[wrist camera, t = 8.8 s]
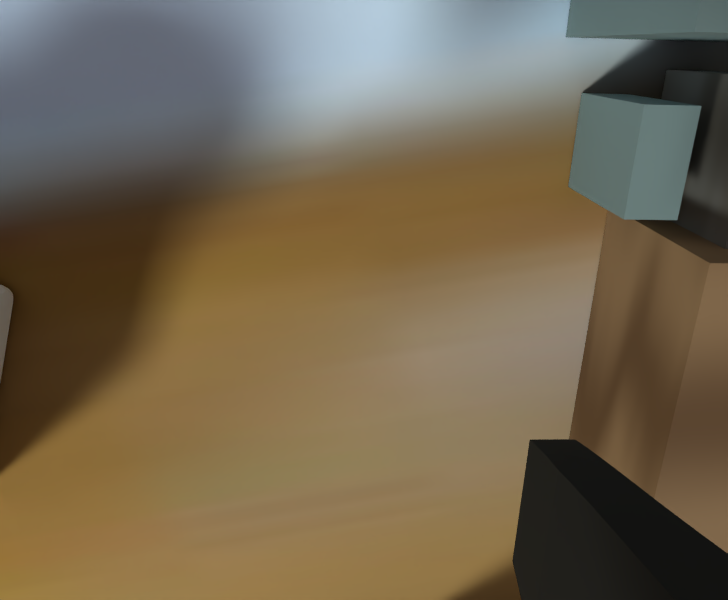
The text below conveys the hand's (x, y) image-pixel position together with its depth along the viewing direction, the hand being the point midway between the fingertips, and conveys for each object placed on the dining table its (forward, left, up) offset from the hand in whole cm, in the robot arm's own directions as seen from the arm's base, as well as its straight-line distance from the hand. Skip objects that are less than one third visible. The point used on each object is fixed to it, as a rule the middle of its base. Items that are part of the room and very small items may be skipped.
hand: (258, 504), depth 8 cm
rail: (0, -10, -10) cm, 14 cm away
